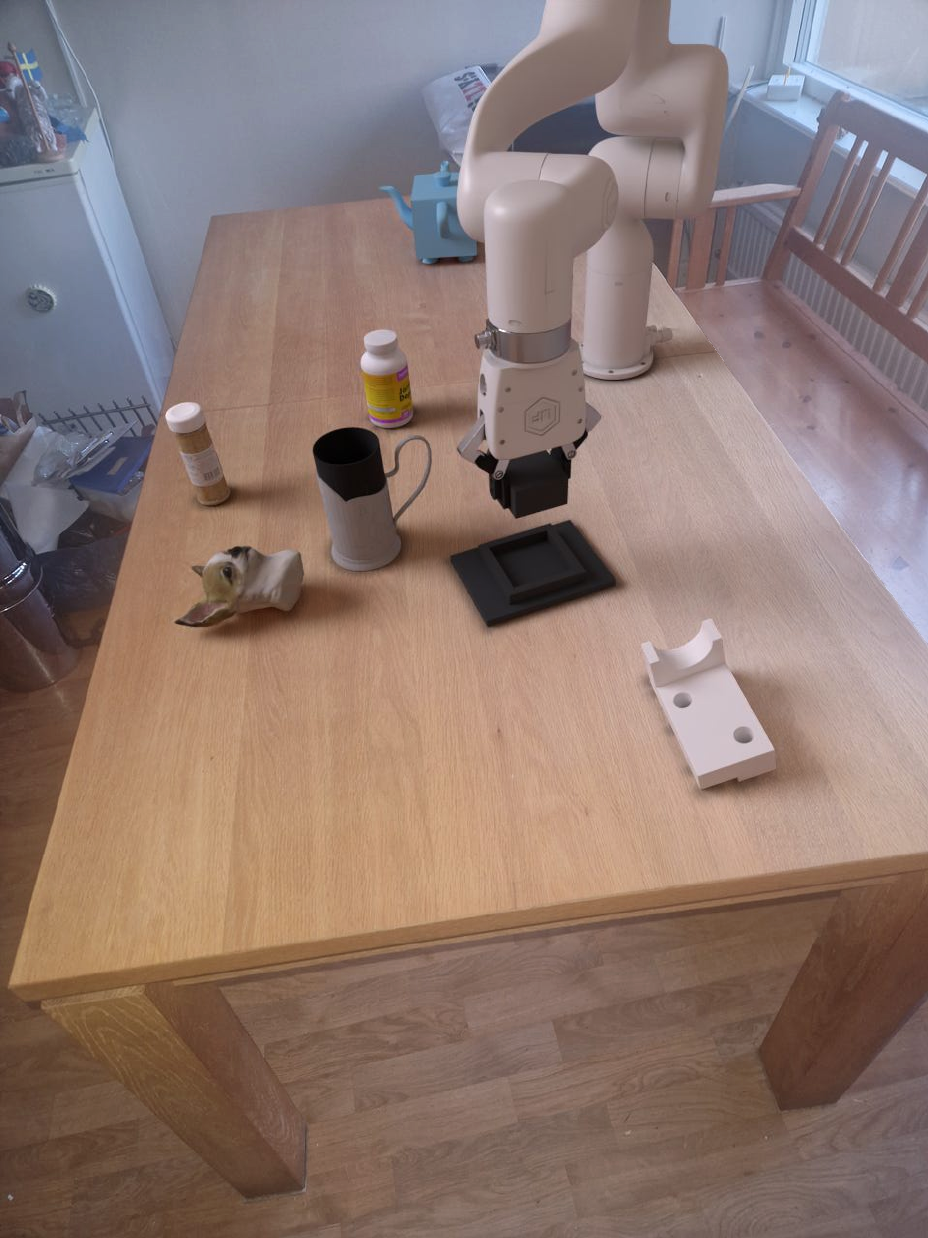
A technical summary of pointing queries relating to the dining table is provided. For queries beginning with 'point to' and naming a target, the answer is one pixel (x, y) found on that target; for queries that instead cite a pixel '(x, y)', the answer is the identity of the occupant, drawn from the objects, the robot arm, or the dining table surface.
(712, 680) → the bracket
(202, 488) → the sprinkles bottle
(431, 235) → the teakettle
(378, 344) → the supplement bottle
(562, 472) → the black pad
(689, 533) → the dining table surface
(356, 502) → the glass holder
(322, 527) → the dining table surface
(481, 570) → the base pad
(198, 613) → the ceramic sculpture
